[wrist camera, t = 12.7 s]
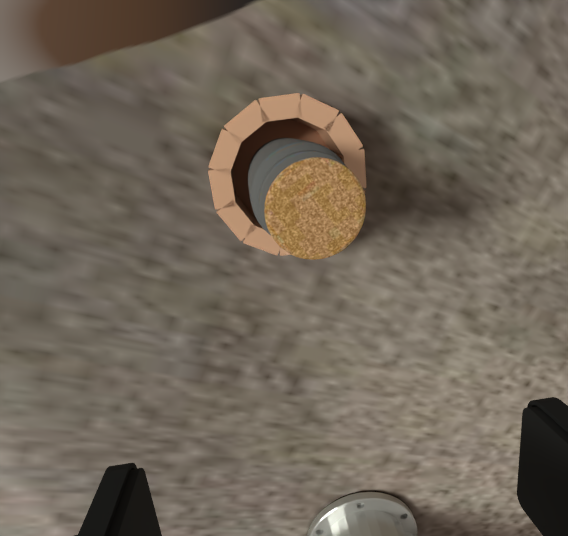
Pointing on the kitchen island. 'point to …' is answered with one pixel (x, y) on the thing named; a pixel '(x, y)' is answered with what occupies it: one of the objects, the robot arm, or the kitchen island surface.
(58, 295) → the kitchen island surface
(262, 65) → the kitchen island surface
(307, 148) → the bottle
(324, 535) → the robot arm
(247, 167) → the segmented wooden bowl
